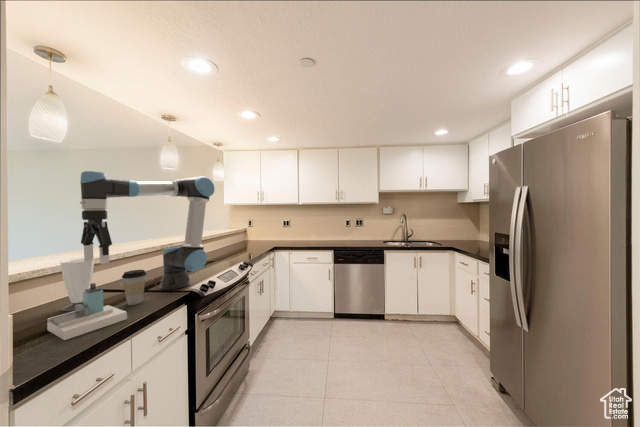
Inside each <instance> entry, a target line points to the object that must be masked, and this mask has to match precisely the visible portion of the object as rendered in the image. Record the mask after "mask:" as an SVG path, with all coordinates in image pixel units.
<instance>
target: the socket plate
mask: <svg viewBox="0 0 640 427" xmlns="http://www.w3.org/2000/svg"><path fill="white" fill-rule="evenodd" d="M103 310H104V311H102V312H99V313H95V314H92V315H89V316H85V317H82V318H78V319H75V320H71V321H68V322H65V323H61V324H58V325H57V324H56V323H54V322H52V319H54V318H58V317H61V316H65V315H68V314H72V313H75V311H69V312H66V313H63V314H59V315H55V316H51V317H49V318H47V322H46V324H47V328H46V329H47V331H48V332H50V333H51V334H53V335H55V336H57V337H58V338H60V339H61V340H63V341H67V340H69V339H71V338H75V337H78V336H82V335H84V334H87V333H90V332H93V331H96V330H99V329H101V328H105V327H107V326H111V325H113V324H117V323H119V322H122V321H126V320H128V312H127V311H126V310H123V309H122V308H121V309H120V308H117V307H114V306H113V305H109V304H107V305H103Z"/></svg>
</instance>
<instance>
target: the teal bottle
mask: <svg viewBox="0 0 640 427" xmlns="http://www.w3.org/2000/svg"><path fill="white" fill-rule="evenodd" d="M83 306H86V307H88V308H89V315H92V314H95V313H99V312H102V311H104V310H103V306H104V290H103V289H102V288H101V287H100V286H99V287H98V286H97V283H95V282H93V283H92V282H91V284H90V288H89V289H85V292H83Z"/></svg>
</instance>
